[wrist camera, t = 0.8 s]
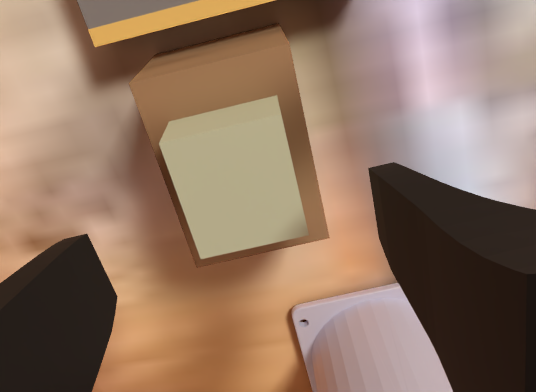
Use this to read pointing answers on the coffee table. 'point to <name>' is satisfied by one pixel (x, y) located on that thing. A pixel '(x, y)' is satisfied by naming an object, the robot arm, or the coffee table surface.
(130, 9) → the dock
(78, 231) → the coffee table surface
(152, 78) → the brown block
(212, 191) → the block
